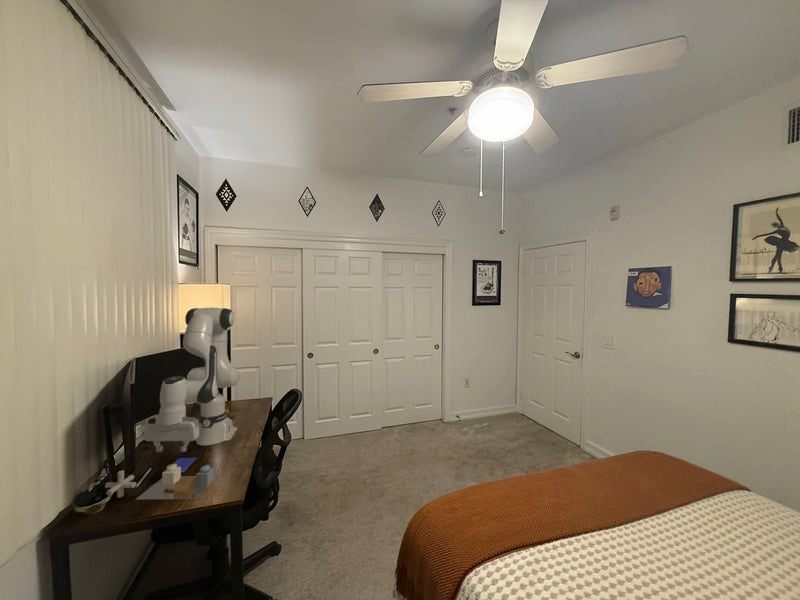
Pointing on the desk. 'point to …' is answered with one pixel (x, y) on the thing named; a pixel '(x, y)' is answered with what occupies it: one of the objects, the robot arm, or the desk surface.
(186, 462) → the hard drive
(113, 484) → the pipe connector
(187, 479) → the pigtail stub
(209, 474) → the blue-grey knobbed block
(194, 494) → the plate
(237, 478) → the desk surface
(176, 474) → the cream knobbed block
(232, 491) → the desk surface
